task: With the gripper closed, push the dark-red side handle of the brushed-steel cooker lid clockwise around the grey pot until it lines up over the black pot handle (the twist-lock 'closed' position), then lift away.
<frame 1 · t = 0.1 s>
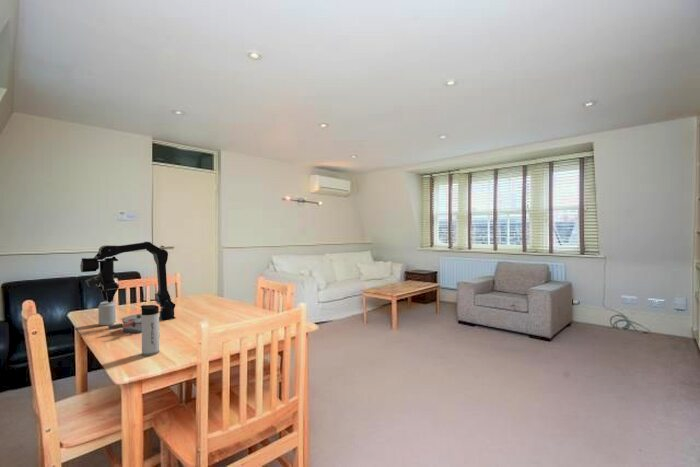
hand: (107, 301, 173), 15 cm above the table, fingers open, 9 cm apart
lid: (136, 318, 171), point 6 cm above the table, hinge at 50.0°
can: (107, 324, 183), on the table
pot: (139, 329, 174), on the table
travel mug: (150, 353, 142), on the table
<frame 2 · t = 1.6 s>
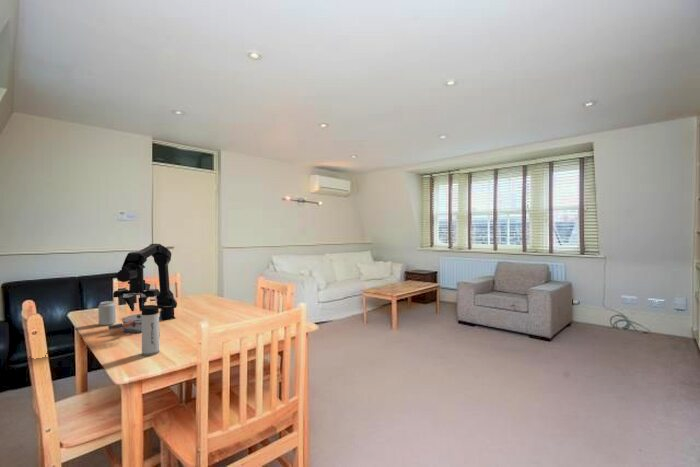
hand: (136, 311, 163), 12 cm above the table, fingers open, 3 cm apart
nothing on the table moved.
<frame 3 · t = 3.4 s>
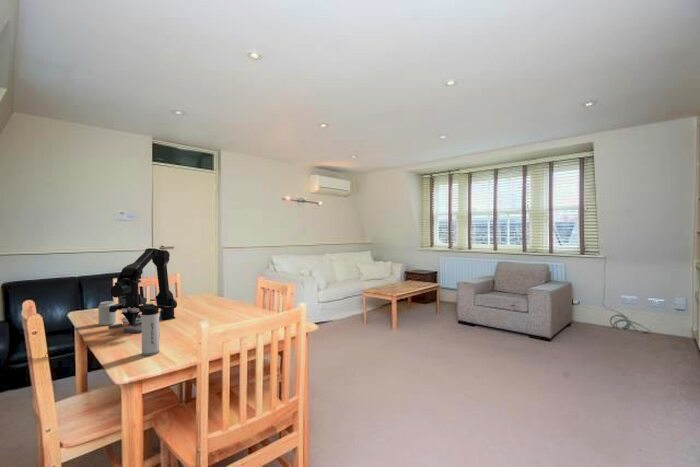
hand: (132, 325, 163), 5 cm above the table, fingers closed
lid: (136, 318, 171), point 6 cm above the table, hinge at 48.8°, touching gripper
everything else where it was.
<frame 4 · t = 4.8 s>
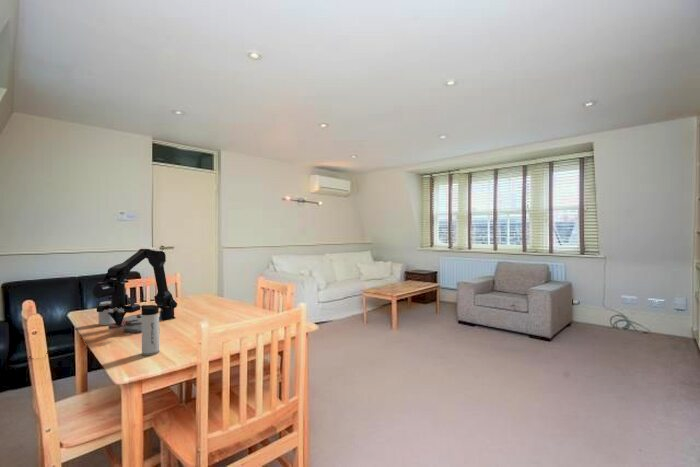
hand: (119, 325, 163), 5 cm above the table, fingers closed
lid: (133, 318, 171), point 6 cm above the table, hinge at 18.3°, touching gripper
everything else where it was.
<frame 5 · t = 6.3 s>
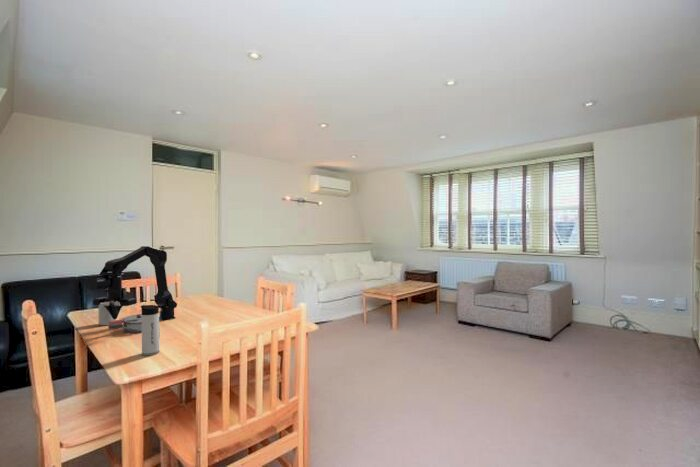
hand: (115, 319, 164), 8 cm above the table, fingers closed
lid: (133, 318, 172), point 6 cm above the table, hinge at 0.3°
everything else where it was.
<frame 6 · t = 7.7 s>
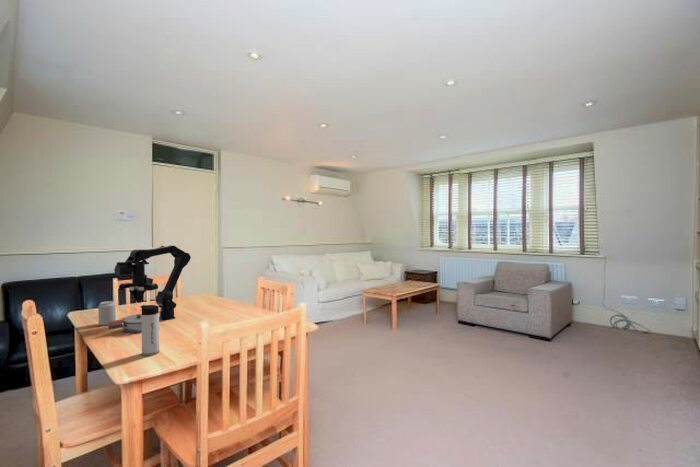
hand: (138, 302, 181), 12 cm above the table, fingers closed
nothing on the table moved.
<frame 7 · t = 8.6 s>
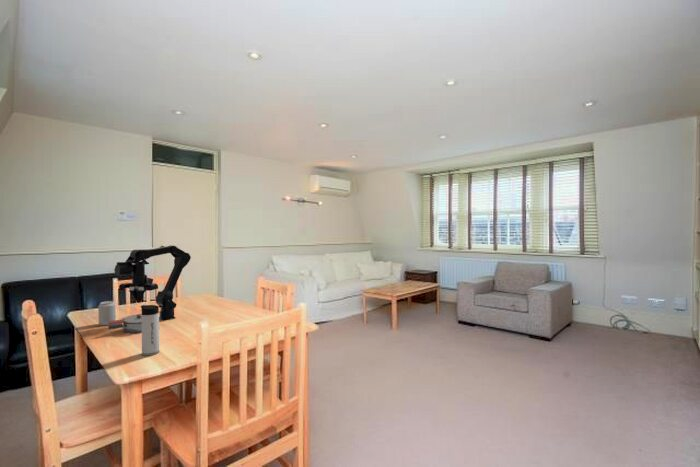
hand: (138, 302, 181), 12 cm above the table, fingers closed
nothing on the table moved.
at the end: lid at +0° (first picture: +50°) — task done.
